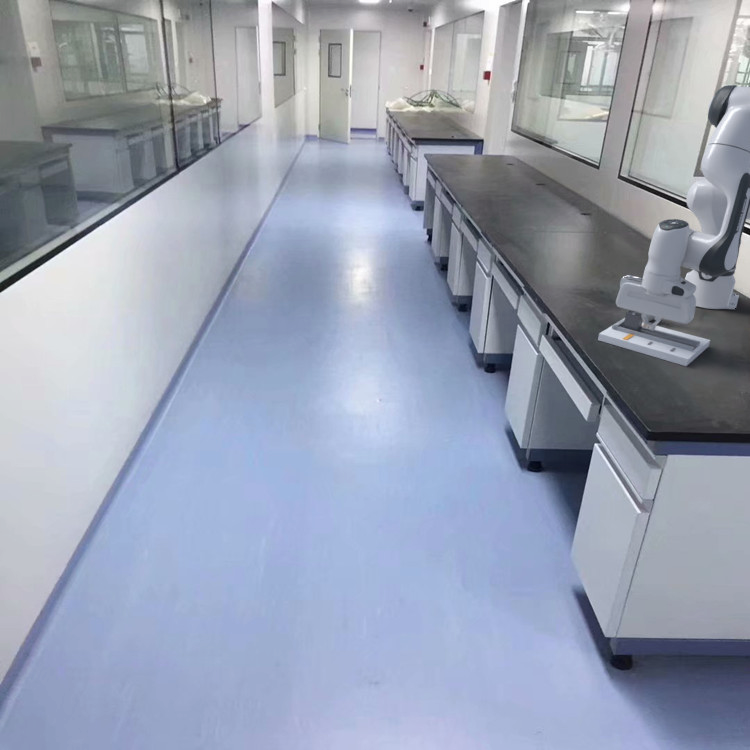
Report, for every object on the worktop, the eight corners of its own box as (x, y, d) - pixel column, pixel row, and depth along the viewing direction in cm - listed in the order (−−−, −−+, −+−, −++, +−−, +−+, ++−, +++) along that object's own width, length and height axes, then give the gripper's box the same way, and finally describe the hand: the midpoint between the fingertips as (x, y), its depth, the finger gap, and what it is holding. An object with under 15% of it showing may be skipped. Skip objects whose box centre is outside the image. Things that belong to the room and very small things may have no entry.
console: (624, 323, 187) (626, 312, 185) (708, 346, 172) (711, 335, 171) (597, 340, 175) (600, 328, 173) (686, 366, 160) (689, 353, 159)
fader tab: (626, 326, 179) (630, 309, 176) (640, 330, 176) (644, 313, 174) (622, 329, 177) (626, 312, 174) (636, 333, 174) (640, 315, 172)
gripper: (617, 275, 171) (608, 322, 177) (695, 293, 159) (682, 342, 165) (626, 271, 175) (617, 317, 181) (703, 287, 163) (690, 336, 169)
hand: (648, 329), depth 173 cm, fingers closed
